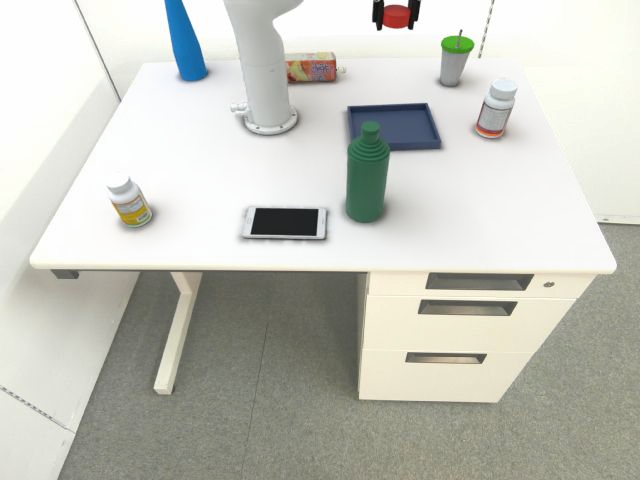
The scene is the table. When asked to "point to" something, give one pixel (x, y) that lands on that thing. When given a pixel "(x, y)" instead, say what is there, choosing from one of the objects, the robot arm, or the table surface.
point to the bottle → (184, 42)
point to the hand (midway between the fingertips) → (394, 25)
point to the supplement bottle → (128, 200)
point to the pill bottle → (496, 108)
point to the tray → (397, 124)
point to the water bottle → (367, 174)
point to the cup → (454, 58)
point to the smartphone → (285, 223)
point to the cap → (396, 16)
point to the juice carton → (310, 66)
